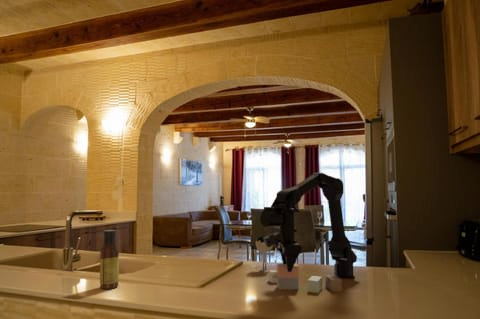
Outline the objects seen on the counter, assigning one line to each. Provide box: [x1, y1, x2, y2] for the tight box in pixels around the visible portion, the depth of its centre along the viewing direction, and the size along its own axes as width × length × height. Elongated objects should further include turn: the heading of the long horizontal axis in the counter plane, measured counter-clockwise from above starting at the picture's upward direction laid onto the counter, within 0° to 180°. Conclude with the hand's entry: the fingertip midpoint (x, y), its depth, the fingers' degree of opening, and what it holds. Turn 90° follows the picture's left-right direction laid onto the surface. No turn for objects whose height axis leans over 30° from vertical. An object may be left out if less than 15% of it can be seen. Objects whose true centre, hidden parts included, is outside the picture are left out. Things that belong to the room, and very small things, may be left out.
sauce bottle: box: [99, 229, 120, 290], centre depth 123 cm, size 7×6×20 cm
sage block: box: [307, 275, 323, 294], centre depth 121 cm, size 7×4×4 cm, turn 156°
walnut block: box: [324, 274, 343, 292], centre depth 122 cm, size 7×4×4 cm, turn 4°
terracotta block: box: [276, 263, 300, 279], centre depth 123 cm, size 7×4×4 cm, turn 93°
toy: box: [254, 234, 275, 270], centre depth 154 cm, size 9×7×15 cm
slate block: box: [276, 276, 300, 291], centre depth 123 cm, size 7×4×4 cm, turn 96°
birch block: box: [268, 269, 277, 284], centre depth 133 cm, size 7×4×4 cm, turn 109°
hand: (287, 270), depth 123 cm, fingers open, 6 cm apart
